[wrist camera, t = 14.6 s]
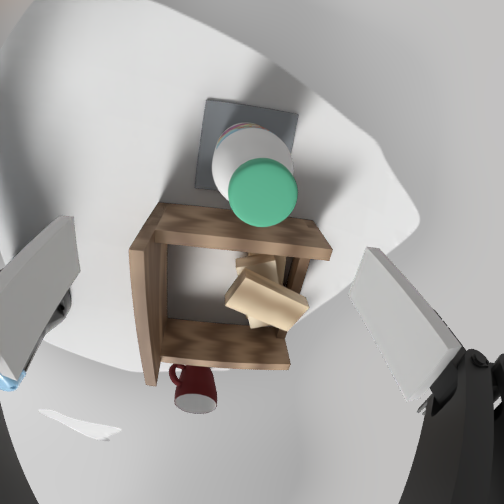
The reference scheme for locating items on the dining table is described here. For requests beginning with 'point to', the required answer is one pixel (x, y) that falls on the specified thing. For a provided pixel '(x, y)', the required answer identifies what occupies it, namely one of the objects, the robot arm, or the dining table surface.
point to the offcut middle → (263, 267)
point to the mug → (194, 388)
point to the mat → (229, 114)
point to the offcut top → (265, 300)
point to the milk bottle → (255, 174)
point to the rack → (205, 333)
